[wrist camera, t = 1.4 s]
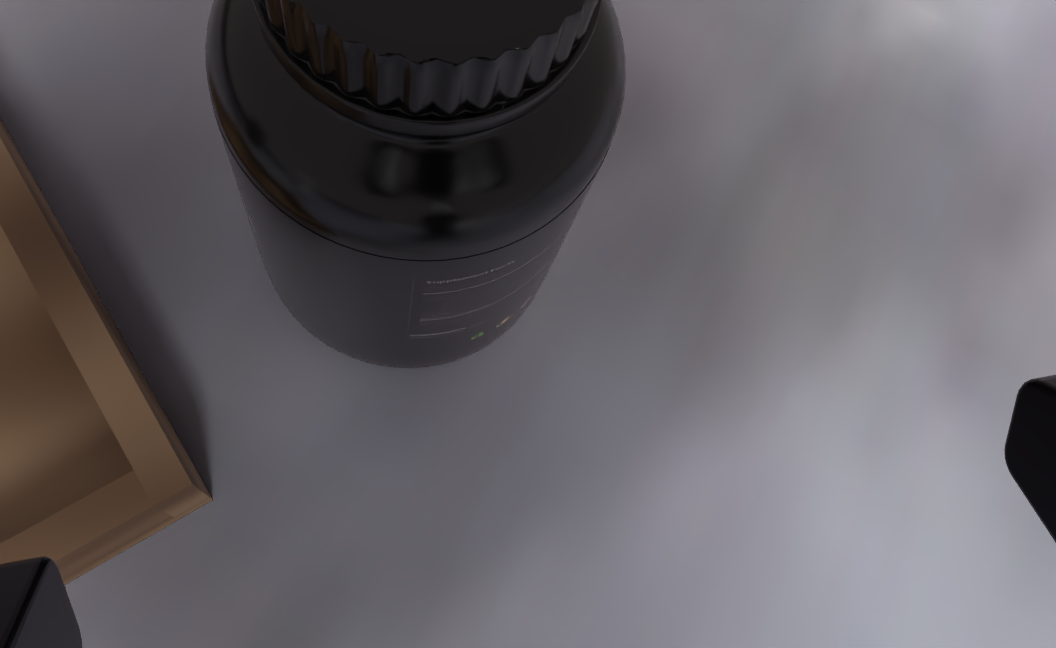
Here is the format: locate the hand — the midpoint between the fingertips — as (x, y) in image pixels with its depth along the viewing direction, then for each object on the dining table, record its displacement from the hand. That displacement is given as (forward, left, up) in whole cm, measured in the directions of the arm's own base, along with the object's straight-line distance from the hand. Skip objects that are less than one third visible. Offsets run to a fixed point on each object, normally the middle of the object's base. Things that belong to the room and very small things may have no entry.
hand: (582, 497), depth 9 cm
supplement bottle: (+3, -7, -14) cm, 16 cm away
